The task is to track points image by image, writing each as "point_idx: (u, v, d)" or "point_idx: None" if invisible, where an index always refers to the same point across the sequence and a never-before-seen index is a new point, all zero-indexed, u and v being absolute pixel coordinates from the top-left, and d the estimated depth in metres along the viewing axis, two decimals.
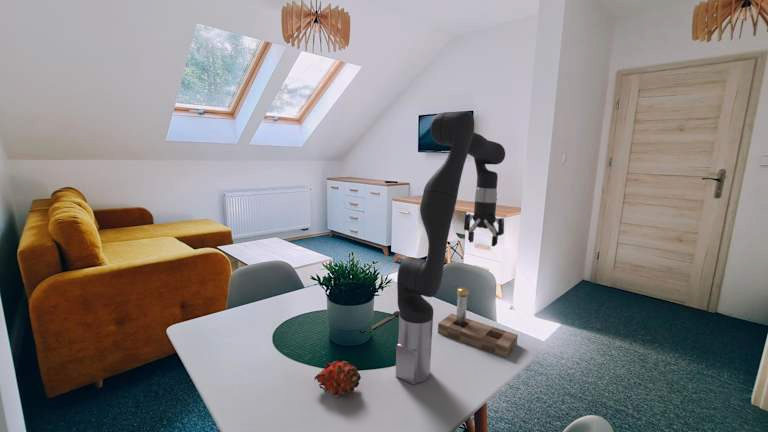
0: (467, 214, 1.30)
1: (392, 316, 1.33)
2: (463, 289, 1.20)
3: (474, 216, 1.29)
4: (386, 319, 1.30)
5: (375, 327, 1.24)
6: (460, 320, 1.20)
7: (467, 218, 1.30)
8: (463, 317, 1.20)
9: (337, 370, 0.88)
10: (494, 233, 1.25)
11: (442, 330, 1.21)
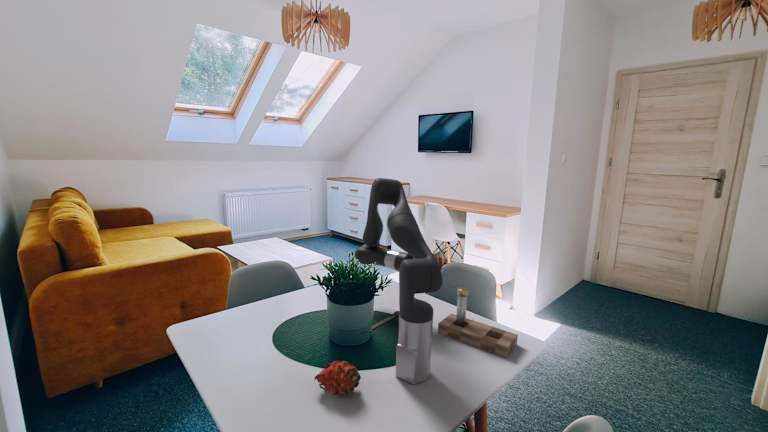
0: None
1: (392, 316, 1.33)
2: (463, 289, 1.20)
3: None
4: (386, 319, 1.30)
5: (375, 327, 1.24)
6: (460, 320, 1.20)
7: None
8: (463, 317, 1.20)
9: (337, 370, 0.88)
10: None
11: (442, 330, 1.21)
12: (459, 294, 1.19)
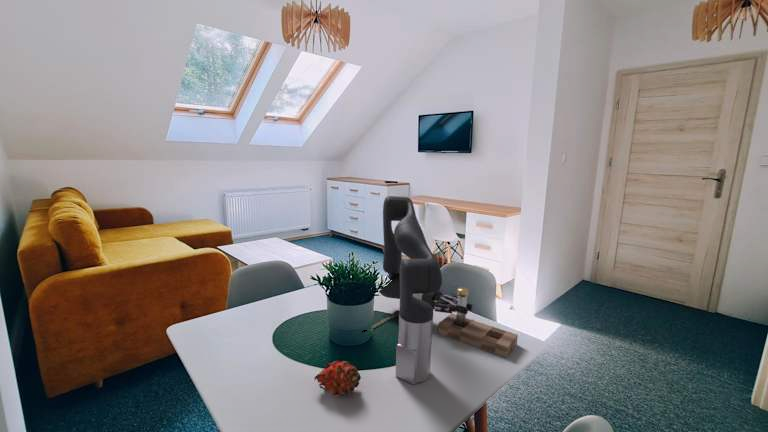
0: (435, 304, 1.20)
1: (392, 315, 1.33)
2: (463, 289, 1.20)
3: (436, 301, 1.23)
4: (386, 318, 1.30)
5: (376, 326, 1.25)
6: (460, 320, 1.20)
7: (439, 304, 1.20)
8: (463, 317, 1.20)
9: (337, 370, 0.88)
10: None
11: (442, 330, 1.21)
12: (459, 294, 1.19)
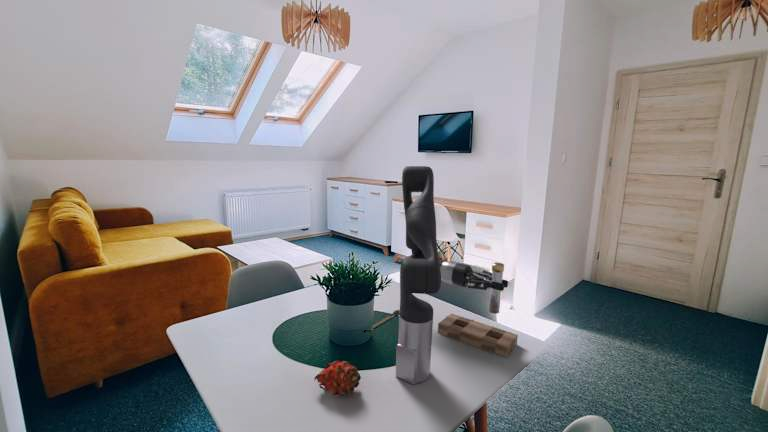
0: (468, 280, 1.11)
1: (392, 315, 1.34)
2: (499, 264, 1.11)
3: (469, 277, 1.14)
4: (386, 318, 1.31)
5: (376, 326, 1.25)
6: (495, 297, 1.12)
7: (472, 280, 1.11)
8: (498, 294, 1.11)
9: (337, 370, 0.88)
10: None
11: (442, 330, 1.21)
12: (494, 269, 1.10)
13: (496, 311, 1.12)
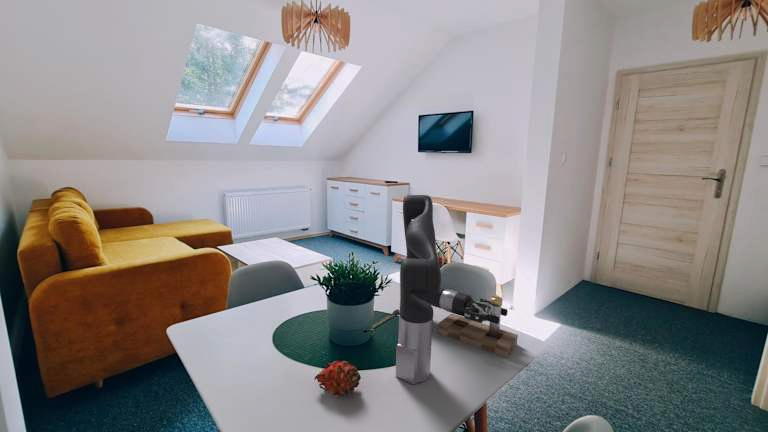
0: (464, 310, 1.13)
1: (392, 315, 1.34)
2: (497, 298, 1.13)
3: (468, 307, 1.16)
4: (387, 318, 1.31)
5: (376, 326, 1.25)
6: (493, 331, 1.13)
7: (469, 311, 1.13)
8: (497, 328, 1.13)
9: (337, 370, 0.88)
10: None
11: (442, 330, 1.21)
12: (493, 304, 1.12)
13: None
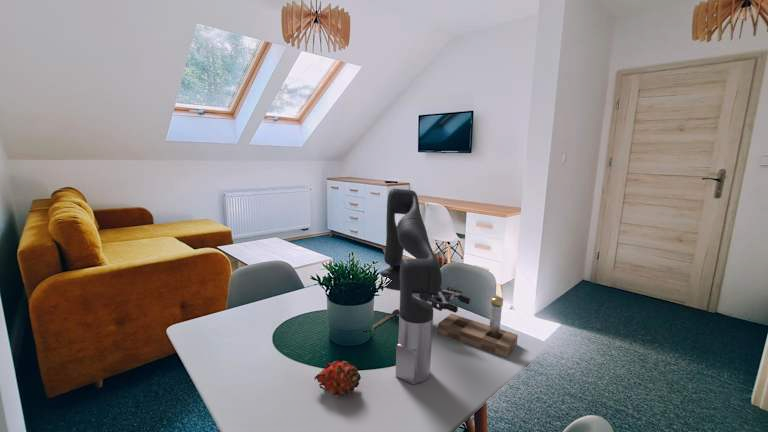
0: (428, 298, 1.21)
1: (392, 314, 1.34)
2: (498, 298, 1.13)
3: (433, 295, 1.23)
4: (387, 317, 1.31)
5: (376, 326, 1.25)
6: (494, 331, 1.13)
7: (432, 299, 1.20)
8: (497, 328, 1.13)
9: (337, 370, 0.88)
10: (458, 293, 1.26)
11: (442, 330, 1.21)
12: (493, 304, 1.12)
13: None
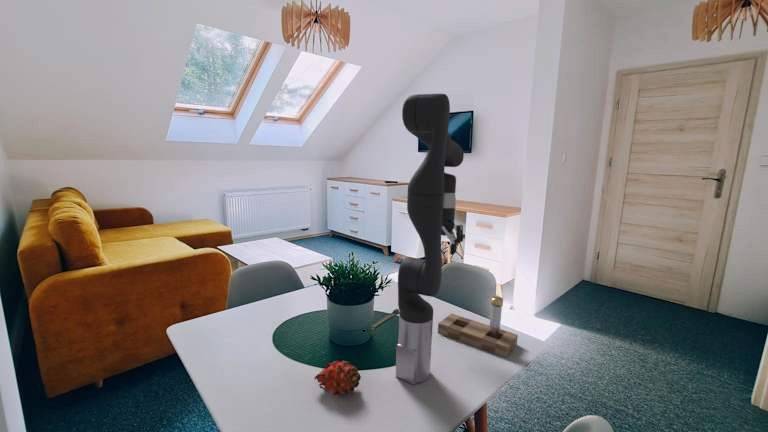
0: None
1: (392, 314, 1.35)
2: (498, 298, 1.13)
3: None
4: (387, 317, 1.31)
5: (377, 325, 1.25)
6: (494, 331, 1.13)
7: None
8: (497, 328, 1.13)
9: (337, 370, 0.88)
10: (452, 241, 1.16)
11: (442, 330, 1.21)
12: (493, 304, 1.12)
13: None
